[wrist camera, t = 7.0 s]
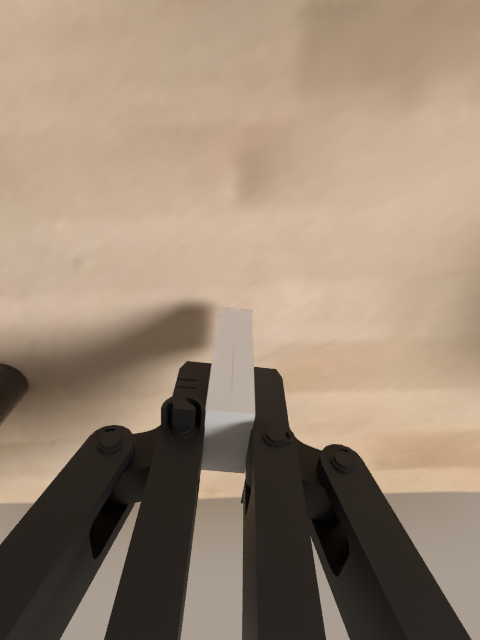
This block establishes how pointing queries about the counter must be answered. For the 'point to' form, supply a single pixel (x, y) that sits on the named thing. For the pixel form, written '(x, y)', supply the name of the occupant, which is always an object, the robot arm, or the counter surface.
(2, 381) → the post
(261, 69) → the counter surface
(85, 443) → the robot arm
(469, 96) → the counter surface
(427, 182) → the counter surface
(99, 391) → the counter surface
